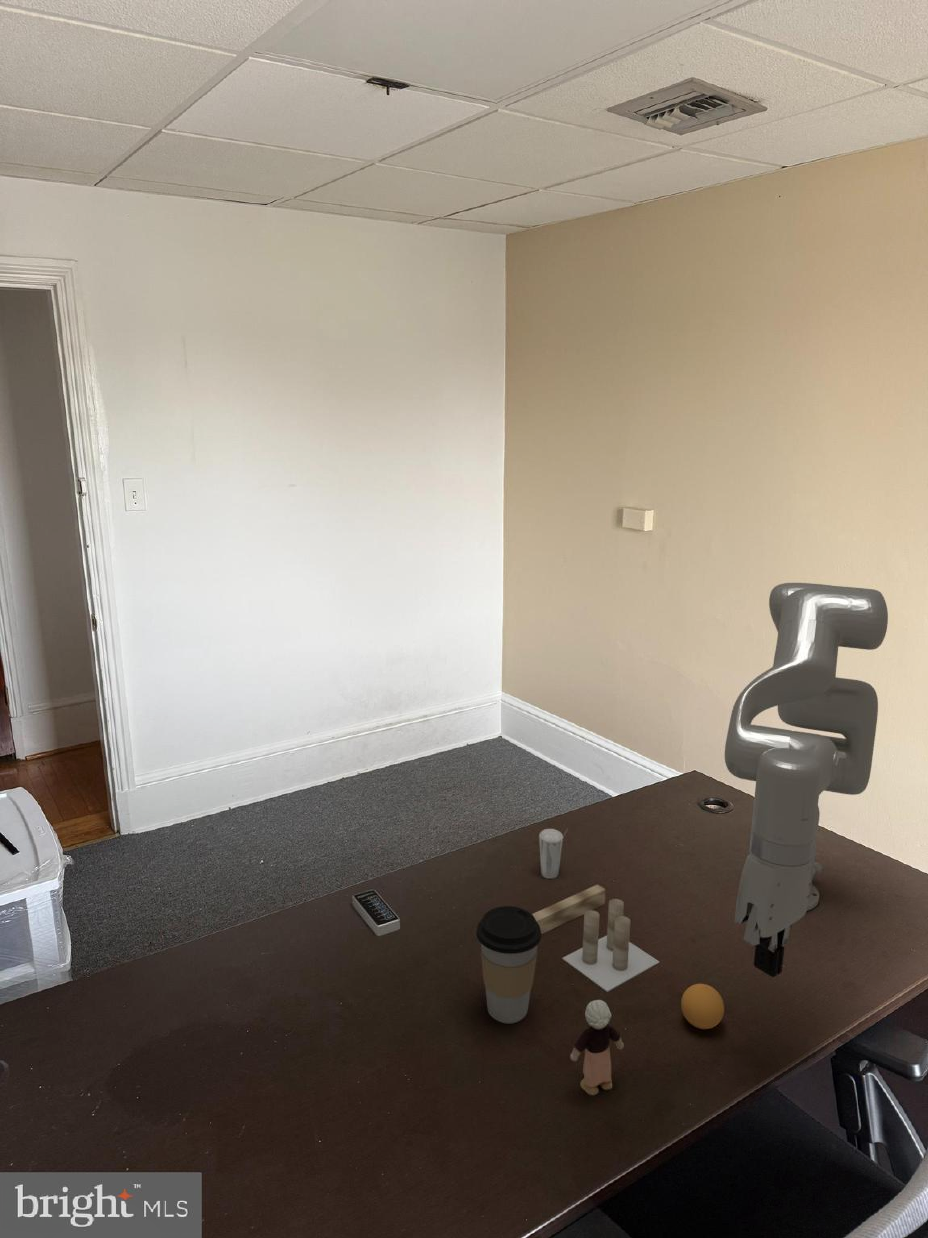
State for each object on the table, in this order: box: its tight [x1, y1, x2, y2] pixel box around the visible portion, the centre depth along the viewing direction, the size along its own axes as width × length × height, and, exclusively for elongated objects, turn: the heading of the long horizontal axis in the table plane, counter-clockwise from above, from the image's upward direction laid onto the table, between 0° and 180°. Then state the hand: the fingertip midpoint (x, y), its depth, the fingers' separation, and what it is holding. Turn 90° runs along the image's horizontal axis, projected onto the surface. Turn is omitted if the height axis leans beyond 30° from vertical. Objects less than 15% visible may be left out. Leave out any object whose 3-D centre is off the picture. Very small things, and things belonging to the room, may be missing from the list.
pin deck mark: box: [562, 935, 660, 993], centre depth 139 cm, size 12×10×1 cm
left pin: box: [582, 909, 600, 965], centre depth 138 cm, size 2×2×8 cm
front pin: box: [612, 915, 631, 971], centre depth 136 cm, size 2×2×8 cm
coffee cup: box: [475, 905, 542, 1025], centre depth 126 cm, size 9×9×15 cm
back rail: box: [531, 884, 606, 935], centre depth 149 cm, size 22×2×3 cm, turn 127°
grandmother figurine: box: [569, 999, 625, 1096], centre depth 112 cm, size 8×4×13 cm, turn 123°
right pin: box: [606, 898, 625, 952], centre depth 141 cm, size 2×2×8 cm
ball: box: [680, 983, 725, 1030], centre depth 124 cm, size 6×6×6 cm
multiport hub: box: [351, 889, 401, 937], centre depth 150 cm, size 4×11×2 cm, turn 30°
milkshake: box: [538, 828, 568, 880], centre depth 163 cm, size 4×5×10 cm
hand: (767, 969), depth 114 cm, fingers closed
